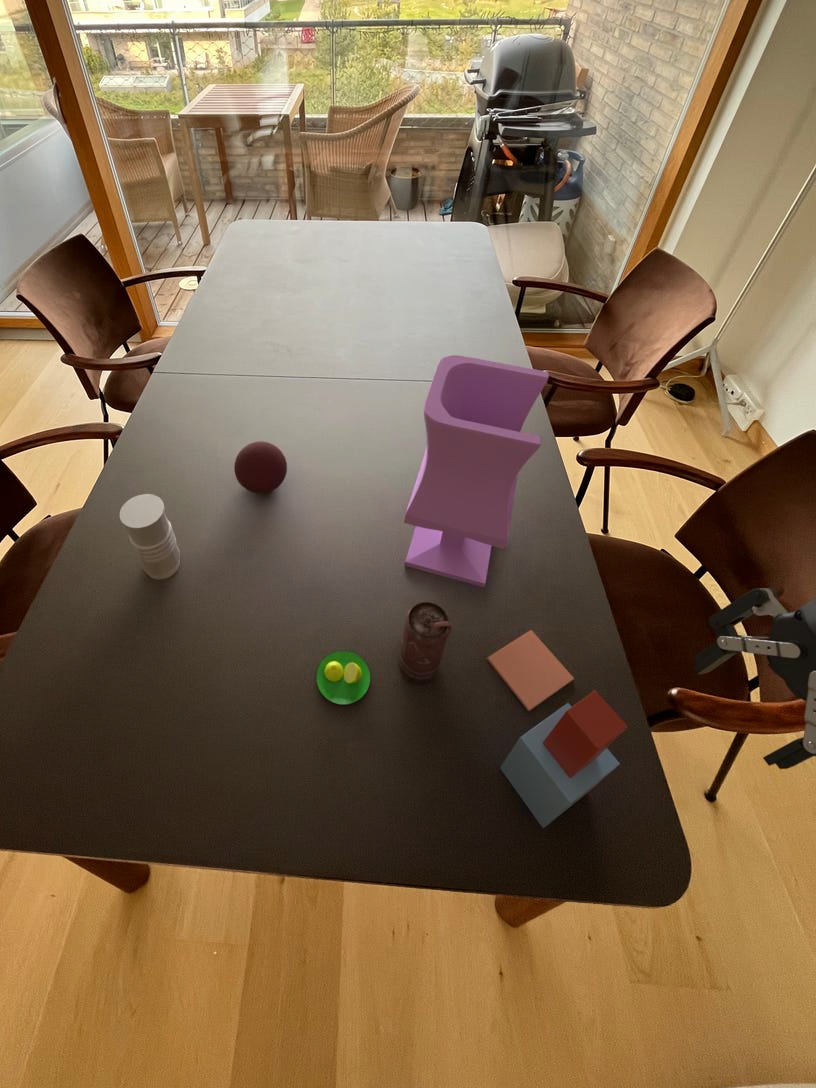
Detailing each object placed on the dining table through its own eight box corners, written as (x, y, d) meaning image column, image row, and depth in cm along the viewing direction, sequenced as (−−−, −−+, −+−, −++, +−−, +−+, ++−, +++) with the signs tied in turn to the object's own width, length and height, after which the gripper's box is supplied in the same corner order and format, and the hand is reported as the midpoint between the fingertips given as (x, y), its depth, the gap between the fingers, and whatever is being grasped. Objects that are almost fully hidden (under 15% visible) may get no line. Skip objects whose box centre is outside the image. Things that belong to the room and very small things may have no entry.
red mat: (573, 680, 85) (574, 678, 84) (528, 711, 82) (529, 710, 81) (530, 631, 90) (531, 629, 90) (486, 659, 87) (487, 657, 87)
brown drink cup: (442, 685, 84) (456, 641, 74) (399, 684, 84) (407, 640, 74) (437, 646, 89) (450, 599, 79) (396, 645, 89) (404, 599, 79)
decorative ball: (280, 508, 108) (276, 472, 101) (230, 499, 110) (222, 463, 102) (294, 470, 115) (291, 434, 108) (247, 462, 116) (241, 427, 109)
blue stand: (588, 792, 74) (620, 763, 66) (543, 828, 72) (570, 803, 63) (543, 736, 79) (568, 702, 71) (499, 768, 76) (520, 737, 68)
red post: (597, 757, 66) (628, 726, 59) (570, 778, 65) (598, 749, 58) (568, 723, 69) (595, 689, 62) (542, 743, 68) (566, 711, 60)
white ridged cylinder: (133, 569, 99) (109, 515, 88) (163, 542, 103) (143, 487, 92) (161, 589, 96) (139, 535, 85) (191, 560, 100) (173, 505, 89)
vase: (488, 593, 95) (542, 445, 70) (397, 568, 99) (418, 418, 74) (500, 522, 105) (550, 371, 81) (417, 502, 109) (441, 351, 84)
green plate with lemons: (365, 649, 88) (366, 641, 86) (374, 702, 83) (375, 694, 81) (314, 656, 88) (313, 647, 86) (319, 709, 82) (318, 701, 80)
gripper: (794, 541, 48) (657, 647, 56) (976, 708, 38) (776, 804, 47) (833, 543, 51) (698, 642, 60) (1008, 696, 42) (817, 787, 50)
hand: (732, 713), depth 53 cm, fingers open, 8 cm apart
